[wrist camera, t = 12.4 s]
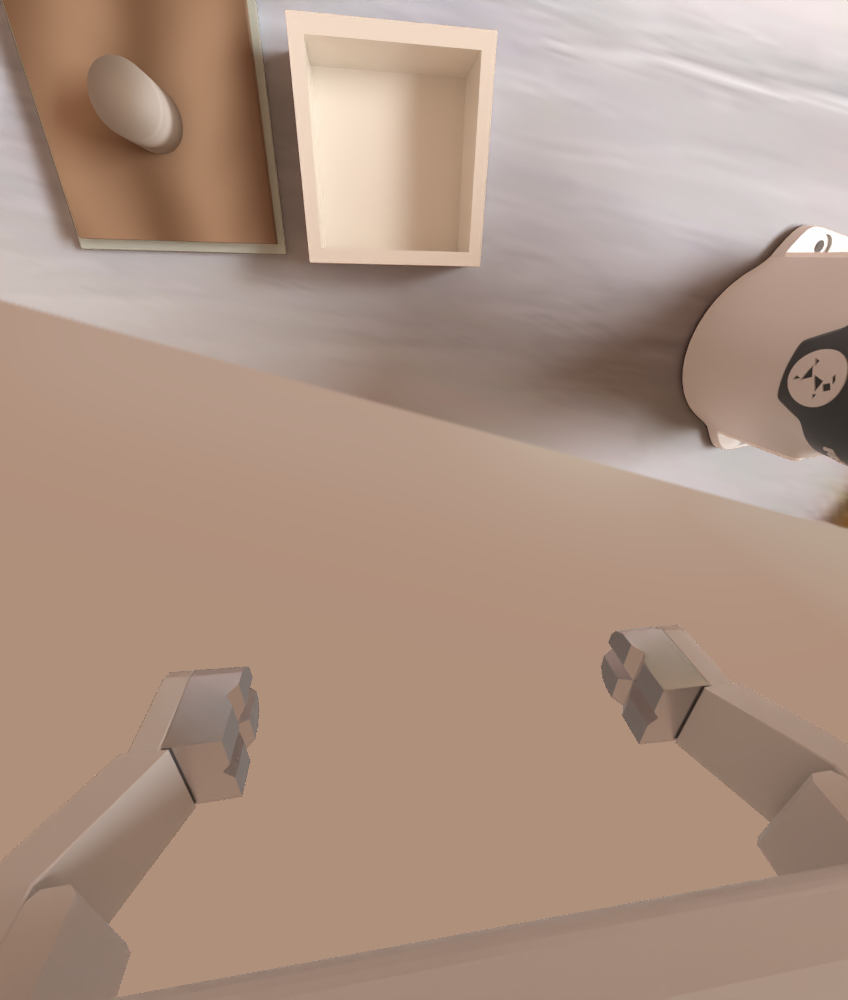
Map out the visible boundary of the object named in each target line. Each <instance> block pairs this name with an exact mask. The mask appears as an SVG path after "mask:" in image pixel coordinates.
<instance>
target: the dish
mask: <svg viewBox="0 0 848 1000" xmlns="http://www.w3.org/2000/svg"><path fill="white" fill-rule="evenodd" d="M285 15H286V25H287V35H288V46H289V56H290V66H291V76H292V87H293V97H294V107H295V117H296V127H297V138H298V148H299V158H300V168H301V178H302V189H303V199H304V209H305V219H306V229H307V240H308V250H309V260H310V262H311V263H339V264H380V265H421V266H462V267H480V259H481V246H482V232H483V219H484V206H485V192H486V179H487V166H488V152H489V139H490V126H491V113H492V99H493V86H494V73H495V59H496V46H497V33H498V31H497V30H487V29H476V28H466V27H456V26H446V25H436V24H426V23H416V22H406V21H395V20H385V19H375V18H365V17H355V16H345V15H335V14H325V13H314V12H304V11H294V10H285Z"/></svg>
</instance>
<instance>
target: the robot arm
mask: <svg viewBox="0 0 848 1000" xmlns="http://www.w3.org/2000/svg"><path fill="white" fill-rule="evenodd" d="M815 244H816V246H815ZM814 246H815V249H814ZM682 380H683V390H684V394H685V398H686V400H687V403H688V405H689V406H690V408H691V409H692V411H693V412H694V413H695V414H696V415H697V416H698V417H699V418H700V419H701V420H702V421H703V422H704V423H705V424H706V425H707V427H708V432H709V436H710V439H711V442H712V444H713V445H714V446H715V447H718V448H721V449H724V450H729V449H734V448H738V447H743V446H747V445H751V446H754V447H756V448H759V449H762V450H764V451H767V452H770V453H772V454H775V455H778V456H781V457H783V458H786V459H789V460H794V461H800V460H801V459H803V458H811V457H816V456H819V455H822V454H823V455H826V456H828V457H831V458H832V459H833V460H836V461H837V462H839V463H842V464H844V465H847V466H848V236H847V235H844V234H841V233H838V232H835V231H832V230H830V229H827V228H824V227H821V226H816V225H803V226H801V227H799V228H797V229H796V230H794V231H793V232H792V233H791V234H790V235H789V236H788V237H787V238H786V239H785V240H784V241H783V242H782V243H781V245H780V246H779V247H778V248H777V249H776V250H775V251H774V253H773V254H772V255H771V256H770V257H769V258H768V259H767V260H766V261H764V262H763V263H761V264H760V265H759V266H757V267H755V268H754V269H752V270H751V271H749V272H748V273H746V274H744V275H743V276H742V277H740V278H739V279H738V280H736V281H735V282H734V283H733V284H731V285H730V286H729V287H728V288H727V289H726V290H725V291H724V292H723V293H722V294H721V295H720V296H719V297H718V298H717V299H716V300H715V302H714V303H713V304H712V305H711V306H710V308H709V309H708V310H707V312H706V313H705V315H704V316H703V318H702V319H701V321H700V323H699V324H698V326H697V328H696V330H695V332H694V334H693V336H692V338H691V341H690V343H689V346H688V349H687V352H686V356H685V360H684V366H683V379H682ZM609 644H610V646H611V647H612V649H611V650H610V651H609V652H608V653H607V654H606V655H604V658H603V662H602V665H601V669H602V678H603V681H604V683H605V686H606V688H607V690H608V692H609V694H610V695H611V697H612V698H613V699H615V700H616V701H617V702H619V703H620V704H622V705H623V713H622V716H623V718H624V719H625V721H626V723H627V724H628V726H629V728H630V730H631V731H632V733H633V735H634V736H635V738H636V740H637V741H638V743H639V744H647V743H656V742H666V741H675V740H676V742H675V743H676V744H678V745H679V746H680V747H681V748H682V749H683V750H684V751H686V752H687V753H688V754H689V755H690V756H692V757H693V758H694V759H695V760H696V761H698V762H699V763H700V764H701V765H702V766H704V767H705V768H706V769H707V770H708V771H710V772H711V773H712V774H713V775H714V776H716V777H717V778H718V779H719V780H721V781H722V782H723V783H724V784H725V785H726V786H728V787H729V788H730V789H731V790H732V791H734V792H735V793H736V794H737V795H738V796H740V797H741V798H742V799H743V800H744V801H746V802H747V803H748V804H749V805H750V806H752V807H753V808H754V809H755V810H756V811H758V812H759V813H760V814H761V815H762V816H764V817H765V818H766V819H767V820H768V821H770V823H769V825H768V826H767V827H766V828H765V829H764V830H763V832H762V833H761V834H760V835H759V836H758V843H757V845H758V847H759V848H760V850H761V851H762V853H763V854H764V856H765V857H766V859H767V860H768V861H769V863H770V864H771V866H772V867H773V869H774V870H775V872H776V873H777V875H778V876H775V877H770V878H764V879H759V880H753V881H748V882H743V883H737V884H732V885H726V886H721V887H716V888H710V889H704V890H699V891H694V892H688V893H683V894H677V895H672V896H666V897H661V898H656V899H650V900H645V901H639V902H634V903H628V904H623V905H617V906H612V907H606V908H601V909H596V910H590V911H585V912H579V913H574V914H568V915H563V916H558V917H552V918H547V919H541V920H536V921H530V922H525V923H520V924H514V925H508V926H503V927H498V928H493V929H487V930H481V931H476V932H470V933H465V934H459V935H454V936H449V937H444V938H438V939H432V940H427V941H421V942H416V943H410V944H405V945H400V946H394V947H389V948H383V949H378V950H372V951H367V952H361V953H356V954H351V955H345V956H340V957H334V958H329V959H324V960H319V961H312V962H307V963H302V964H296V965H291V966H286V967H280V968H274V969H269V970H264V971H258V972H253V973H247V974H242V975H237V976H231V977H225V978H220V979H215V980H209V981H204V982H198V983H193V984H187V985H182V986H177V987H171V988H166V989H161V990H155V991H149V992H144V993H139V994H133V995H128V996H122V997H117V994H118V991H119V988H120V984H121V981H122V978H123V975H124V972H125V969H126V966H127V962H128V959H129V957H130V950H129V948H128V946H127V944H126V942H125V941H124V940H123V939H122V938H121V937H120V936H119V935H118V934H117V933H116V932H115V931H114V930H113V929H112V928H111V927H110V926H109V925H108V924H109V923H110V921H111V920H112V919H113V917H114V916H115V914H116V913H117V912H118V911H119V909H120V908H121V907H122V905H123V904H124V903H125V901H126V900H127V898H128V897H129V896H130V894H131V893H132V892H133V891H134V889H135V888H136V887H137V885H138V884H139V882H140V881H141V880H142V879H143V877H144V876H145V875H146V873H147V872H148V870H149V869H150V868H151V867H152V865H153V864H154V863H155V861H156V860H157V859H158V857H159V856H160V854H161V853H162V852H163V850H164V849H165V848H166V846H167V845H168V844H169V842H170V841H171V840H172V838H173V837H174V836H175V834H176V833H177V832H178V830H179V829H180V828H181V826H182V825H183V824H184V822H185V821H186V820H187V818H188V817H189V816H190V814H191V813H192V812H193V810H194V809H195V807H196V806H195V804H200V803H206V802H212V801H219V800H225V799H231V798H237V797H242V795H243V791H244V786H245V782H246V777H247V773H248V769H249V764H250V759H249V756H248V752H247V748H248V746H249V745H250V744H251V743H252V742H253V741H254V740H255V737H256V732H257V727H258V719H259V702H258V696H257V693H256V691H255V690H253V689H252V688H250V685H251V681H252V674H251V671H250V668H249V667H235V668H220V669H206V670H195V671H181V672H170V673H169V674H168V675H167V676H166V677H165V678H164V679H163V680H162V683H161V685H160V687H159V689H158V691H157V693H156V695H155V697H154V699H153V701H152V704H151V705H150V708H149V710H148V712H147V714H146V716H145V718H144V720H143V722H142V724H141V726H140V729H139V731H138V733H137V735H136V737H135V739H134V741H133V743H132V745H131V747H130V749H129V751H128V753H127V754H123V755H118V756H117V757H116V758H115V759H114V760H113V761H111V762H110V763H109V764H108V765H107V766H106V767H105V768H104V769H103V770H101V771H100V772H99V773H98V774H97V775H96V776H95V777H94V778H92V779H91V780H90V781H89V782H88V783H87V784H86V785H85V786H84V787H82V788H81V789H80V790H79V791H78V792H77V793H76V794H75V795H74V796H73V797H71V798H70V799H69V800H68V801H67V802H66V803H65V804H64V805H63V806H61V807H60V808H59V809H58V810H57V811H56V812H55V813H54V814H52V815H51V816H50V817H49V818H48V819H47V820H46V821H45V822H43V823H42V824H41V825H40V826H39V827H38V828H37V829H36V830H34V831H33V832H32V833H31V834H30V835H29V836H28V837H27V838H26V839H24V840H23V841H22V842H21V843H20V844H19V845H18V846H17V847H16V848H14V849H13V850H12V851H11V852H10V853H9V854H8V855H7V856H6V857H4V858H3V859H2V860H1V861H0V1000H848V744H847V743H846V742H844V741H842V740H840V739H839V738H837V737H835V736H833V735H831V734H829V733H828V732H826V731H824V730H822V729H821V728H819V727H817V726H815V725H814V724H812V723H810V722H808V721H806V720H805V719H803V718H801V717H799V716H797V715H796V714H794V713H792V712H790V711H788V710H787V709H785V708H783V707H781V706H779V705H778V704H776V703H774V702H772V701H771V700H769V699H767V698H765V697H763V696H762V695H760V694H758V693H756V692H754V691H753V690H751V689H749V688H747V687H745V686H744V685H742V684H740V683H735V684H733V683H732V682H731V681H730V680H729V679H728V678H727V677H726V675H725V674H724V673H723V672H722V671H721V670H720V669H719V667H718V666H717V665H716V664H715V663H714V662H713V661H712V660H711V659H710V657H709V656H708V655H707V654H706V653H705V652H704V651H703V650H702V649H701V648H700V646H699V645H698V644H697V643H696V642H695V641H694V640H693V639H692V637H691V636H690V635H689V634H688V633H687V632H686V631H685V630H684V629H683V628H681V627H680V626H678V625H671V626H661V627H647V628H638V629H629V630H620V631H615V632H614V633H613V634H612V635H611V637H610V639H609ZM116 997H117V998H116Z"/></svg>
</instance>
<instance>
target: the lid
mask: <svg viewBox="0 0 848 1000" xmlns="http://www.w3.org/2000/svg"><path fill="white" fill-rule="evenodd" d="M3 4H4V7H5V10H6V13H7V16H8V19H9V22H10V25H11V28H12V31H13V34H14V38H15V41H16V44H17V47H18V50H19V53H20V56H21V59H22V62H23V65H24V68H25V72H26V75H27V78H28V81H29V84H30V87H31V90H32V93H33V96H34V99H35V102H36V106H37V109H38V112H39V115H40V118H41V121H42V124H43V127H44V130H45V133H46V137H47V140H48V143H49V146H50V149H51V152H52V155H53V158H54V161H55V164H56V167H57V171H58V174H59V177H60V180H61V183H62V186H63V189H64V192H65V195H66V198H67V201H68V205H69V208H70V211H71V214H72V217H73V220H74V223H75V226H76V229H77V232H78V235H79V238H87V239H119V240H152V241H185V242H218V243H251V244H278V240H277V233H276V225H275V217H274V209H273V201H272V193H271V185H270V178H269V170H268V162H267V154H266V146H265V138H264V130H263V123H262V115H261V107H260V99H259V91H258V83H257V75H256V68H255V60H254V52H253V44H252V36H251V28H250V20H249V13H248V5H247V0H3Z"/></svg>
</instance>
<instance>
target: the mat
mask: <svg viewBox="0 0 848 1000" xmlns="http://www.w3.org/2000/svg"><path fill="white" fill-rule="evenodd" d="M1 2H2V5H3V8H4V11H5V14H6V17H7V20H8V23H9V26H10V30H11V33H12V36H13V39H14V42H15V45H16V48H17V51H18V54H19V57H20V60H21V63H22V66H23V70H24V73H25V76H26V79H27V82H28V85H29V88H30V91H31V94H32V97H33V100H34V103H35V106H36V102H35V99H34V96H33V93H32V90H31V87H30V84H29V81H28V78H27V75H26V72H25V68H24V65H23V62H22V59H21V56H20V53H19V50H18V47H17V44H16V41H15V38H14V34H13V31H12V28H11V25H10V22H9V19H8V16H7V13H6V10H5V7H4V4H3V0H1ZM247 5H248V13H249V20H250V28H251V36H252V44H253V52H254V60H255V68H256V75H257V83H258V91H259V99H260V107H261V115H262V123H263V130H264V138H265V146H266V154H267V162H268V170H269V178H270V185H271V193H272V201H273V209H274V217H275V225H276V233H277V240H278V244H251V243H218V242H185V241H152V240H119V239H87V238H79V235H78V232H77V229H76V226H75V223H74V220H73V217H72V214H71V211H70V208H69V205H68V201H67V198H66V195H65V192H64V189H63V186H62V183H61V180H60V177H59V174H58V171H57V167H56V164H55V161H54V158H53V155H52V152H51V149H50V146H49V143H48V140H47V137H46V133H45V130H44V127H43V124H42V121H41V118H40V115H39V112H38V109H37V106H36V110H37V113H38V116H39V119H40V122H41V125H42V128H43V131H44V134H45V137H46V140H47V143H48V146H49V150H50V153H51V156H52V159H53V162H54V165H55V168H56V171H57V174H58V177H59V180H60V183H61V186H62V190H63V193H64V196H65V199H66V202H67V205H68V208H69V211H70V214H71V217H72V220H73V223H74V227H75V230H76V233H77V236H78V239H79V242H80V245H81V248H83V249H114V250H152V251H189V252H226V253H263V254H287V253H286V244H285V236H284V228H283V219H282V211H281V203H280V194H279V186H278V178H277V170H276V161H275V153H274V145H273V136H272V128H271V120H270V111H269V103H268V95H267V86H266V78H265V70H264V62H263V53H262V45H261V37H260V28H259V20H258V12H257V3H256V0H247Z"/></svg>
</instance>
